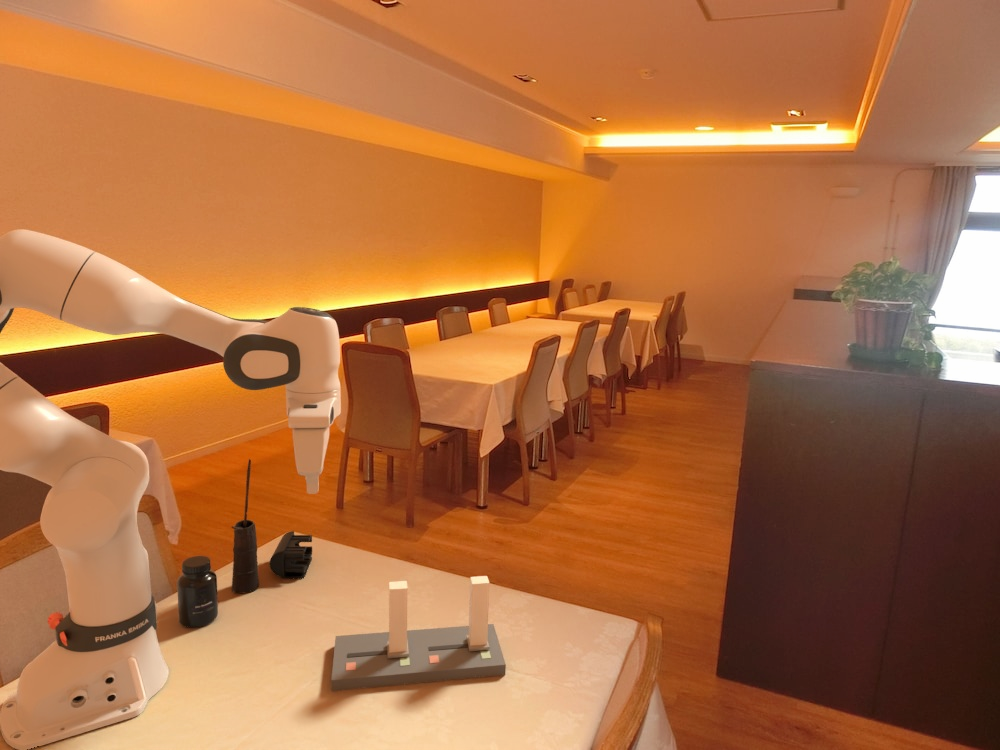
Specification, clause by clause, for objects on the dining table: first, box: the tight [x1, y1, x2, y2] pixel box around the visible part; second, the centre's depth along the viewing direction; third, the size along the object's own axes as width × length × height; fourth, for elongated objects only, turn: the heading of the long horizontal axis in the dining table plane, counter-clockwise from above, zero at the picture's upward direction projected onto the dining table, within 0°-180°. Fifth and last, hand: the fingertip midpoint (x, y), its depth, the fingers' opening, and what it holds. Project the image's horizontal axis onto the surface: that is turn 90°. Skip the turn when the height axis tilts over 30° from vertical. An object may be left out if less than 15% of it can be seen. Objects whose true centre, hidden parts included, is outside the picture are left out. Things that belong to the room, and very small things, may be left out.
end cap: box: [269, 530, 313, 580], centre depth 142 cm, size 10×7×7 cm
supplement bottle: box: [176, 555, 219, 629], centre depth 122 cm, size 7×7×12 cm
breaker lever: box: [466, 575, 490, 651], centre depth 114 cm, size 4×4×12 cm
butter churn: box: [231, 458, 259, 594], centre depth 130 cm, size 9×10×28 cm
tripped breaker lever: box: [387, 580, 409, 658], centre depth 111 cm, size 4×4×12 cm
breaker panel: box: [330, 623, 507, 692], centre depth 113 cm, size 29×12×2 cm, turn 101°
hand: (315, 481), depth 111 cm, fingers open, 8 cm apart
